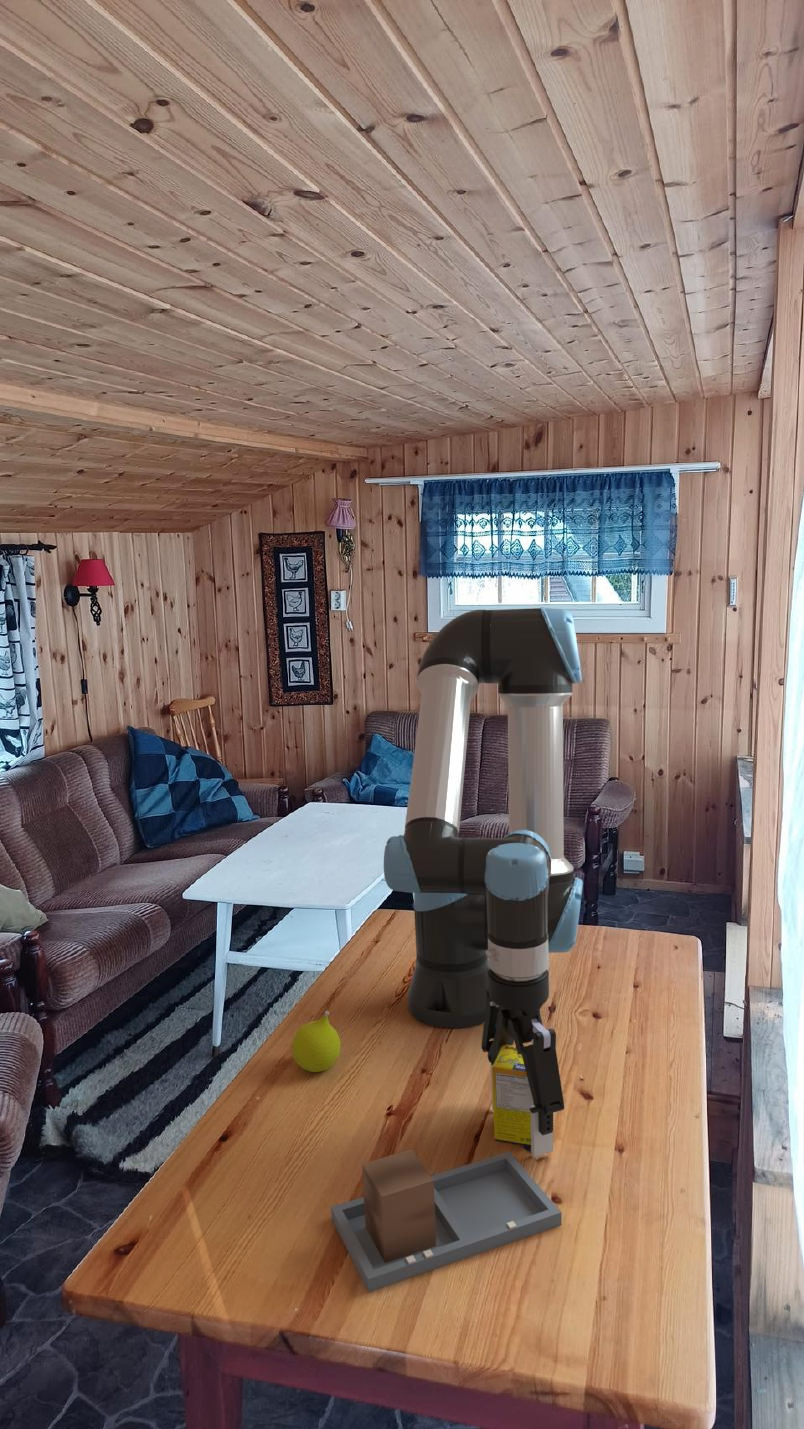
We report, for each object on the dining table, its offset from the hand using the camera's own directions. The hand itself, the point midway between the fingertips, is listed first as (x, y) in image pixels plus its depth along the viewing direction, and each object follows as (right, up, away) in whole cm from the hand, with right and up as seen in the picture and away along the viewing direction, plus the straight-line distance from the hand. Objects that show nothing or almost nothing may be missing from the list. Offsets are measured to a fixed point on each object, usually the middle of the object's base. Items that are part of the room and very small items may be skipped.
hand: (521, 1129), depth 126 cm
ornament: (-28, +1, +18) cm, 33 cm away
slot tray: (-10, -4, -16) cm, 19 cm away
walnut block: (-16, -4, -18) cm, 24 cm away
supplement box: (0, -1, 0) cm, 1 cm away
